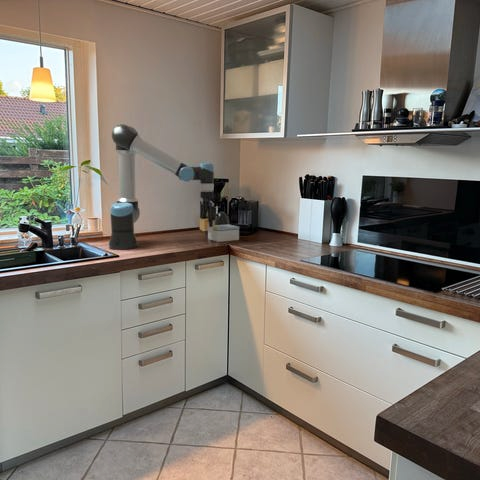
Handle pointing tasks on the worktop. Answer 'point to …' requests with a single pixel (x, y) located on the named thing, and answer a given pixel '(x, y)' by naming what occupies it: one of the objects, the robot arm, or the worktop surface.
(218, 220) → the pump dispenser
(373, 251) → the worktop surface
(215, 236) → the tub
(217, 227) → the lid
